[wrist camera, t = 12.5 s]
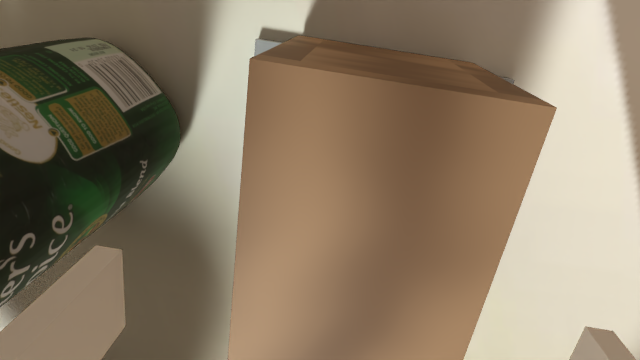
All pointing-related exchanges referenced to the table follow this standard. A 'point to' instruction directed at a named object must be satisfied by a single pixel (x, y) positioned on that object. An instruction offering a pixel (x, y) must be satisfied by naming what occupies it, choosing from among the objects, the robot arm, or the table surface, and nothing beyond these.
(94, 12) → the table surface
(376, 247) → the tan rectangular box
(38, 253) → the coffee jar
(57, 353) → the robot arm
